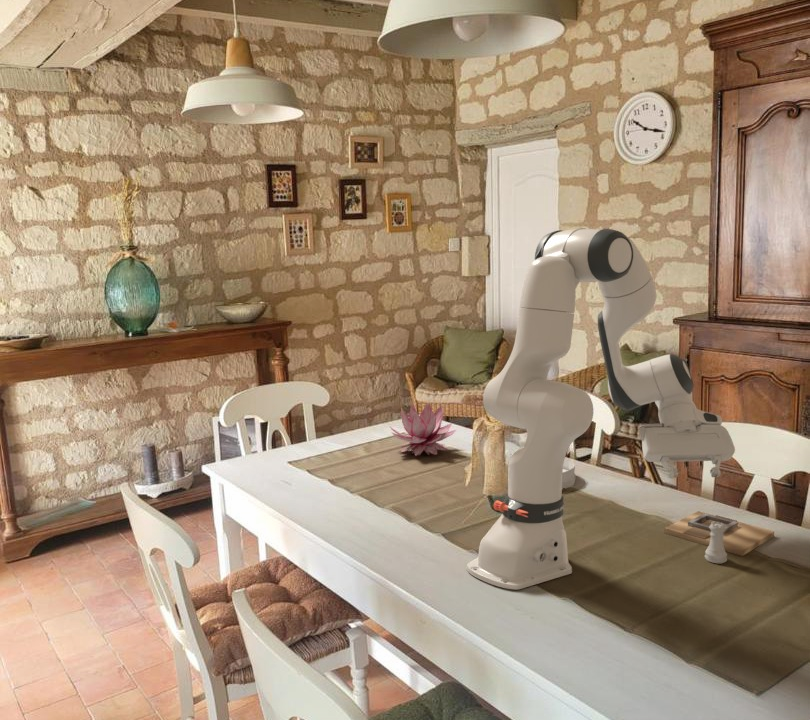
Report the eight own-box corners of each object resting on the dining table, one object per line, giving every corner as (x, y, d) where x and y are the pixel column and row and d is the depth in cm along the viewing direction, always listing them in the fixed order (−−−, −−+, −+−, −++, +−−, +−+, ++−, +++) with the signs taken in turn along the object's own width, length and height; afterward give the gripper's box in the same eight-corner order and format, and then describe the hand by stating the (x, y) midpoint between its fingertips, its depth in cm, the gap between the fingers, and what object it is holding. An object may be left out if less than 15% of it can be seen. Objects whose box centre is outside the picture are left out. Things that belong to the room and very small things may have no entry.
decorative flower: (385, 446, 250) (384, 402, 248) (446, 442, 254) (446, 399, 252) (395, 463, 229) (395, 415, 227) (462, 459, 233) (462, 412, 231)
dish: (576, 494, 199) (576, 476, 199) (493, 490, 204) (493, 472, 203) (574, 470, 221) (574, 454, 220) (499, 467, 225) (499, 451, 225)
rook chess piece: (708, 553, 159) (710, 518, 158) (730, 559, 156) (732, 522, 155) (701, 560, 156) (703, 524, 155) (723, 566, 153) (725, 529, 152)
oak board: (742, 556, 158) (743, 546, 158) (664, 532, 171) (664, 523, 171) (774, 536, 168) (774, 527, 168) (698, 516, 182) (698, 507, 181)
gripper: (640, 417, 172) (653, 470, 163) (727, 415, 172) (745, 469, 164) (633, 431, 177) (645, 483, 169) (718, 430, 177) (735, 482, 169)
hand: (695, 476), depth 166 cm, fingers open, 8 cm apart
